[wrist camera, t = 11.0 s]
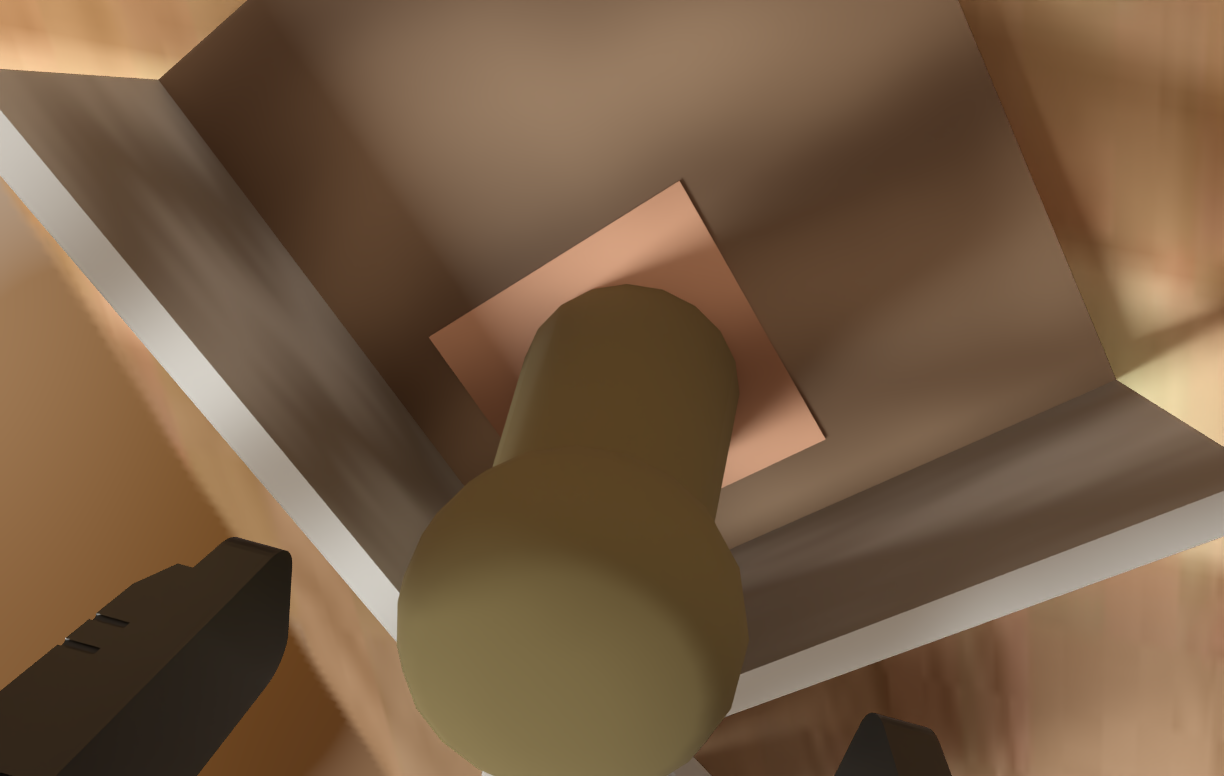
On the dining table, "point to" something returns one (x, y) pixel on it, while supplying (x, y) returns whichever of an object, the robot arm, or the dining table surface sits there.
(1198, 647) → the dining table surface
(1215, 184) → the dining table surface
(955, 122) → the board
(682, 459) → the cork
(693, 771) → the french press
